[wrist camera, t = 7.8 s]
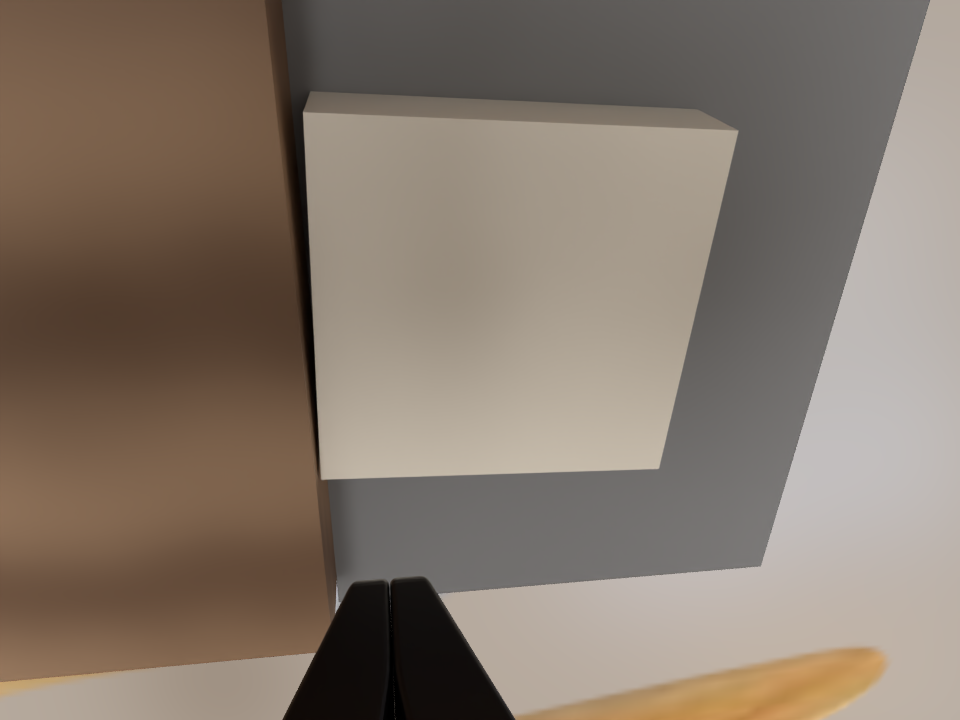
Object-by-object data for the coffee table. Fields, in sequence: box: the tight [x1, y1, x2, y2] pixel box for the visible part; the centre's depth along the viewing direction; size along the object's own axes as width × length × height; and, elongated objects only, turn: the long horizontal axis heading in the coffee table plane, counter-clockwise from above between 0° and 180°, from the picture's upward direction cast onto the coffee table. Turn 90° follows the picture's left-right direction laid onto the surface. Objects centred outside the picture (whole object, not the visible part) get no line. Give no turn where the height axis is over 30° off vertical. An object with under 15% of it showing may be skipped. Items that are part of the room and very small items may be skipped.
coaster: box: [303, 91, 738, 480], centre depth 16 cm, size 8×8×2 cm
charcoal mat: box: [282, 0, 930, 602], centre depth 17 cm, size 20×13×1 cm, turn 178°
